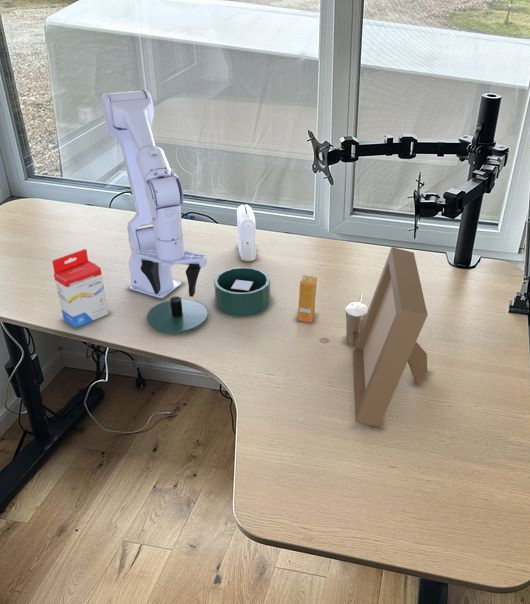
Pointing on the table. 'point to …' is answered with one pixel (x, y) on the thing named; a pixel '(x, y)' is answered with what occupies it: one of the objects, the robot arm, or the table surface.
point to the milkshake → (355, 320)
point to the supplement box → (307, 298)
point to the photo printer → (246, 233)
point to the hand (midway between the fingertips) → (175, 293)
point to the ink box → (79, 289)
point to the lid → (177, 316)
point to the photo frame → (389, 337)
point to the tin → (244, 301)
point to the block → (242, 286)
